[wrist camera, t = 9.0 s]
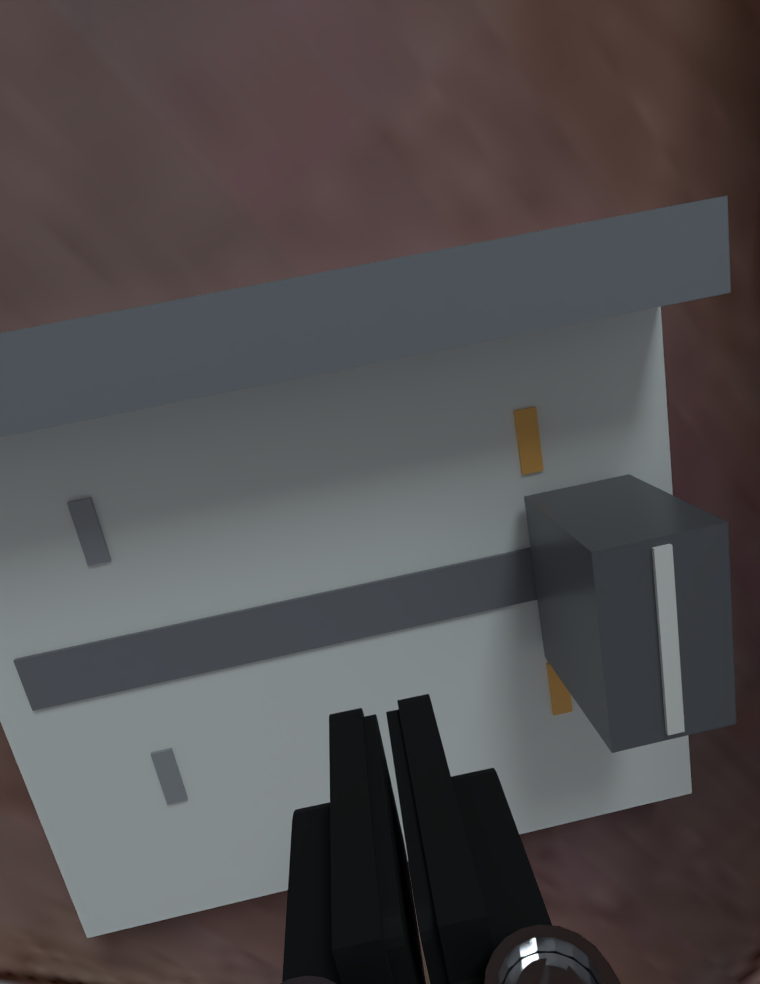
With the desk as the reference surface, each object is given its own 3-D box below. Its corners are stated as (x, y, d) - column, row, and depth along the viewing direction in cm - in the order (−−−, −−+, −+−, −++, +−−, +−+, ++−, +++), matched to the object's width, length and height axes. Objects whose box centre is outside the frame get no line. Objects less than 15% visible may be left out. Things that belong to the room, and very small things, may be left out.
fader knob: (629, 474, 18) (731, 523, 14) (642, 635, 19) (739, 726, 15) (523, 496, 18) (593, 553, 13) (545, 657, 19) (613, 755, 15)
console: (618, 227, 19) (727, 195, 14) (660, 754, 23) (751, 866, 19) (-92, 363, 18) (-244, 379, 13) (106, 884, 22) (51, 1039, 18)
